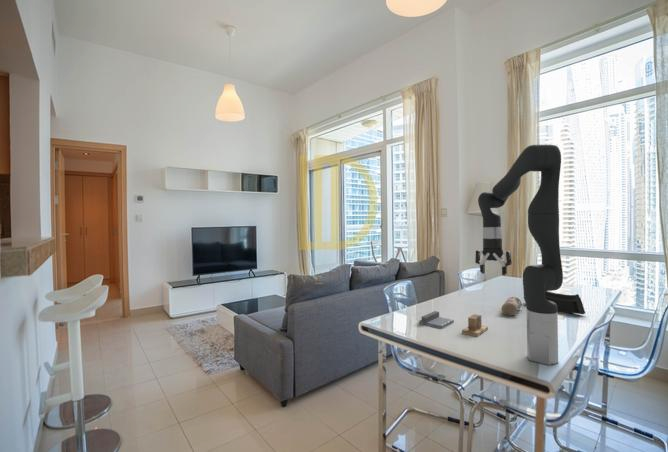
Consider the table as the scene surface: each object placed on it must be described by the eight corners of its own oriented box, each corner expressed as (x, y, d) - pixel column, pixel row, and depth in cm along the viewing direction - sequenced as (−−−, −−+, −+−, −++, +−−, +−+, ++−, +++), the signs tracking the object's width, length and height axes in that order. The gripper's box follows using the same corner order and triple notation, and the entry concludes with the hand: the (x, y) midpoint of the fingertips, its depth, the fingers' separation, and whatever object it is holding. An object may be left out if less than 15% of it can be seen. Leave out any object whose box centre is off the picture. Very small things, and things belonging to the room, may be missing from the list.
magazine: (590, 299, 158) (533, 273, 185) (587, 299, 157) (530, 274, 183) (580, 329, 163) (526, 300, 189) (576, 330, 162) (522, 300, 188)
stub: (477, 336, 136) (477, 321, 136) (462, 333, 141) (461, 318, 141) (487, 329, 144) (487, 314, 144) (473, 326, 149) (472, 312, 149)
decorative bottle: (517, 317, 162) (517, 304, 162) (501, 315, 166) (500, 302, 166) (524, 305, 182) (524, 294, 182) (509, 304, 187) (509, 292, 187)
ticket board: (441, 328, 147) (441, 321, 147) (418, 323, 155) (418, 316, 155) (454, 322, 156) (454, 314, 156) (431, 317, 164) (431, 310, 164)
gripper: (472, 237, 143) (473, 274, 143) (507, 237, 133) (508, 276, 133) (478, 237, 149) (479, 272, 149) (512, 237, 139) (513, 274, 139)
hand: (493, 274), depth 141 cm, fingers open, 8 cm apart
